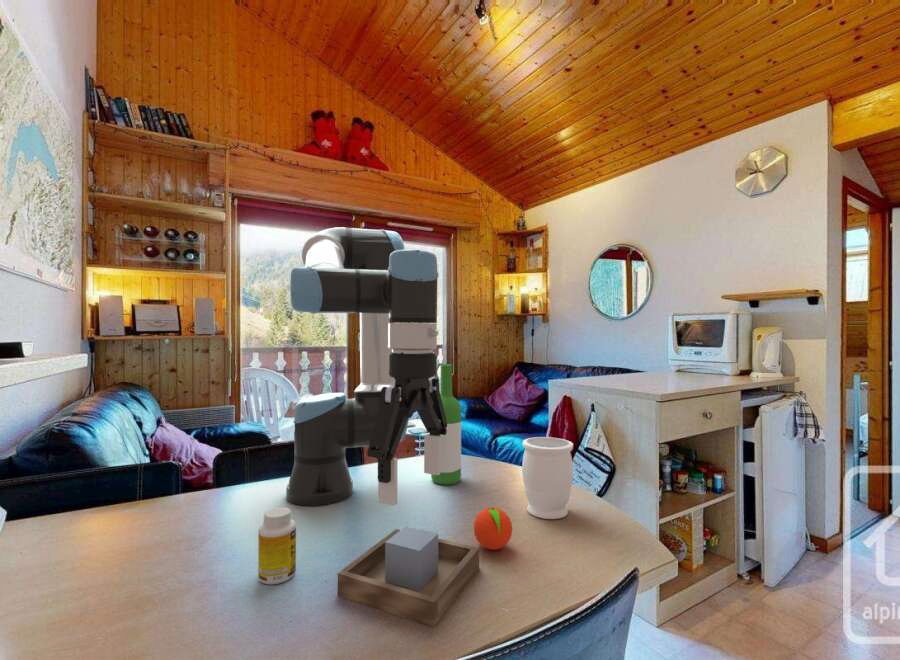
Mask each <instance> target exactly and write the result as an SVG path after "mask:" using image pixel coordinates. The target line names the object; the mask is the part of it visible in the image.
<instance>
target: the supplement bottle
mask: <svg viewBox="0 0 900 660" xmlns="http://www.w3.org/2000/svg"><path fill="white" fill-rule="evenodd" d="M291 511H292V510H291V509H290V508H288V507H286V506H281V507H280V506H279V507H278V506H277V507H273V508H270V509H268V510H266V511H265V512H264V514H263V523H262V524H261V525H260V526H259V528H258V531H257V535H258V537H257V538H258V545H257V546H258V550H257V551H258V552H257V554H258V556H257V557H258V560H257V563H258V566H257V567H258V572H257V574H258V575H257V578H258V579H259V581H260V582H261V583H262V584H265V585H277V584H282V583H285V582H287V581H288V580H290V579H292V577H293V576H294V575H295V573H296V568H297V567H296V566H297V562H296V561H297V554H296V553H297V548H296V547H297V523H296V521H295V520H293V519H292V513H291Z"/></svg>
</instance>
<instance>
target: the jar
mask: <svg viewBox="0 0 900 660" xmlns="http://www.w3.org/2000/svg"><path fill="white" fill-rule="evenodd" d="M522 447H523V448H524V453H523V456H522V466H521V469H522V470H521V471H522V481H523V485H524V487H523V488H524V492H525V497H526V499H527V501H528V505H527V507H526V510H527V512H528V513H529V514H530V515H531V516H534V517H536V518H539V519H545V520H559V519H563V518H565V517H566V516H567V515H568V513H569V511H568V508H567V504H568V502H569V499H570V496H571V491H572V485H573V478H574V464H573V458H572V454H571V451H573V449H574V443H573V442H572V441H569V440H567V439H563V438H558V437H550V436H535V437H529V438H526V439H523V440H522Z"/></svg>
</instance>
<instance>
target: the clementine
mask: <svg viewBox="0 0 900 660" xmlns="http://www.w3.org/2000/svg"><path fill="white" fill-rule="evenodd" d="M473 532H474V536H475V538H476V541H477V542H478V544H480V546H482V547H484V548H486V549H487V550H492V551H496V550H500V549H502V548H504V547H506V545H507V544H509V542H510V540H511V538H512V534H513V524H512V521H511V518H510V517H509V516H508V514H507V513H506V512H505V511H503V510H502V509H500V508H498V507H487V508H484V509H483V510H481V511H480V512H479V513H478V514H477V515H476V518H475V519H474V523H473Z"/></svg>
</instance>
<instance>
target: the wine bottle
mask: <svg viewBox="0 0 900 660" xmlns="http://www.w3.org/2000/svg"><path fill="white" fill-rule="evenodd" d="M439 390H440V395H441V399H442V403H443V407H444V412H445V416H446V420H447V428H445V429H447V433H446V435H440V436H441V447H440V475H433V474H430V476H431V480H432V481H433V482H434V483H435V484H437V485H442V486H443V485H444V486H446V485H447V486H449V485H455V484H457V483H459V482H460V480H461V478H462V408H461V407H462V406H461V404H460V402H459V401H458V399H457V398H456V397H454V395H453V365H452V364H450V363H442V364H440V381H439ZM438 420H439V421H441V420H440V419H438Z"/></svg>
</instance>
